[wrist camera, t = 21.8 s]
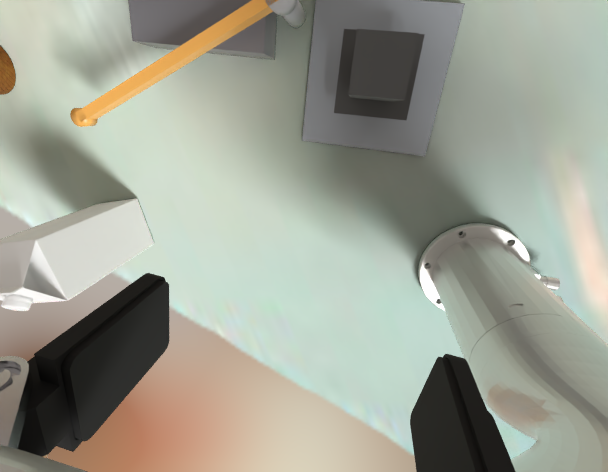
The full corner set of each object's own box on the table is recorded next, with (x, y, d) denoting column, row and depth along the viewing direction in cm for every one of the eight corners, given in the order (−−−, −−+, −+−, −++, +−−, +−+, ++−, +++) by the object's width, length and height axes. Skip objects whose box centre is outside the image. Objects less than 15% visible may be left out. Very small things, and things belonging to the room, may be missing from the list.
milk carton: (97, 203, 45) (-70, 264, 27) (138, 197, 43) (-11, 257, 26) (116, 247, 47) (-26, 328, 30) (155, 243, 46) (30, 326, 28)
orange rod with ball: (290, -28, 26) (286, -36, 24) (302, 6, 26) (299, 0, 25) (76, 108, 33) (64, 109, 32) (91, 132, 34) (80, 133, 33)
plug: (416, 43, 30) (449, 6, 19) (401, 119, 33) (421, 124, 22) (346, 38, 31) (337, -1, 20) (336, 112, 34) (325, 114, 23)
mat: (462, 5, 29) (464, 3, 28) (424, 155, 35) (425, 156, 34) (317, -5, 31) (316, -8, 30) (302, 139, 36) (302, 140, 36)
